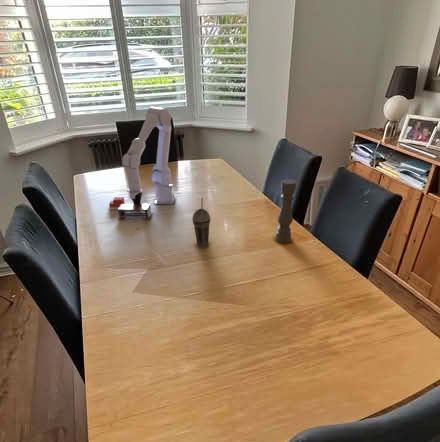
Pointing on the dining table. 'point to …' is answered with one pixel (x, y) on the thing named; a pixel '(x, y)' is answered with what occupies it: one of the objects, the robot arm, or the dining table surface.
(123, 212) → the brown flanged block
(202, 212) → the beverage cup
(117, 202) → the stepped red block
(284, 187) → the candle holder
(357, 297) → the dining table surface
